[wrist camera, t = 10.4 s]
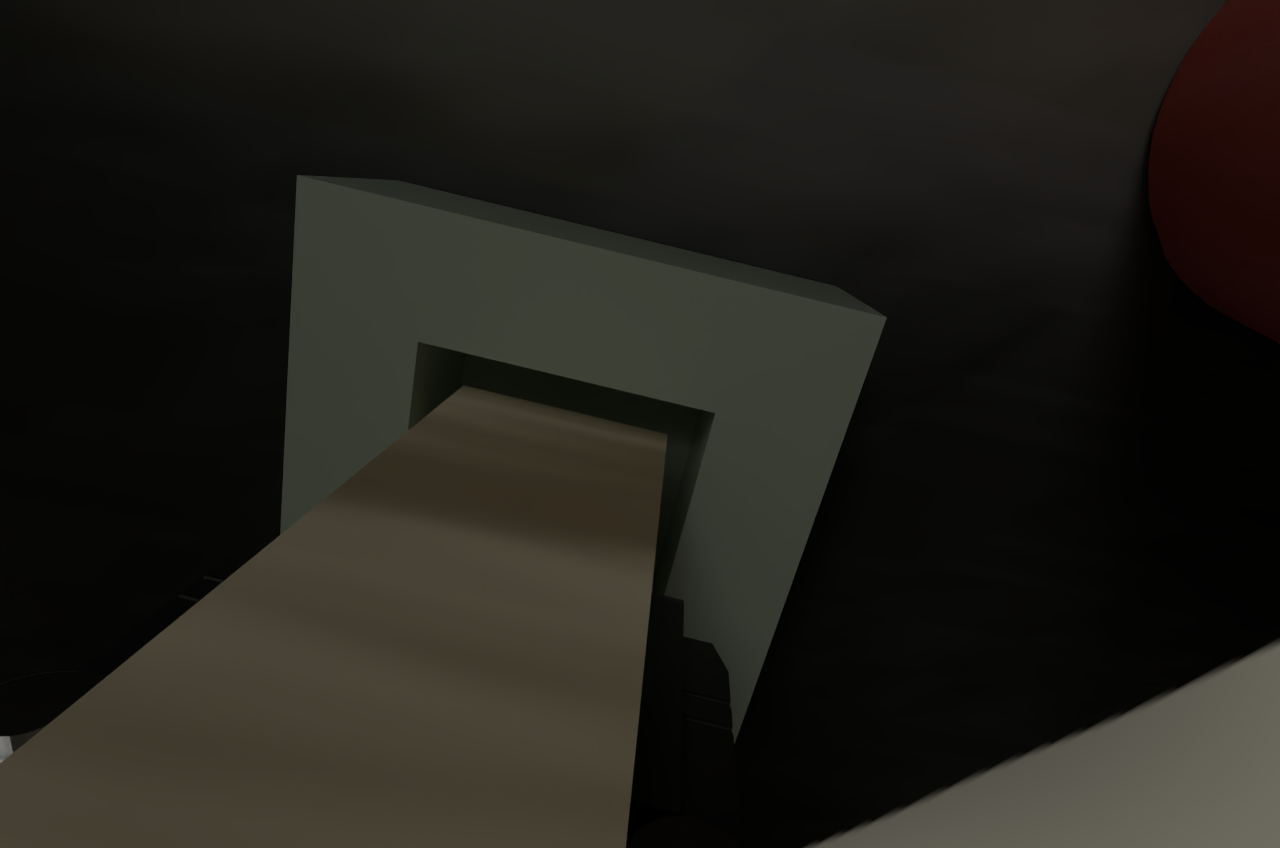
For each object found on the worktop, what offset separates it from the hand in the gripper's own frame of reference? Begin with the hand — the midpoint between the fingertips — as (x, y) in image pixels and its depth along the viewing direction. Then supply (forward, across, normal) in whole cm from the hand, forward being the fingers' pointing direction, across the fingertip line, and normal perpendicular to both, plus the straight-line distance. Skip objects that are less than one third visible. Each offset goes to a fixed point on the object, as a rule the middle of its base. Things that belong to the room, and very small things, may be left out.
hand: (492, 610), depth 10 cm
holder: (+7, 0, 0) cm, 7 cm away
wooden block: (+4, 0, 0) cm, 4 cm away
